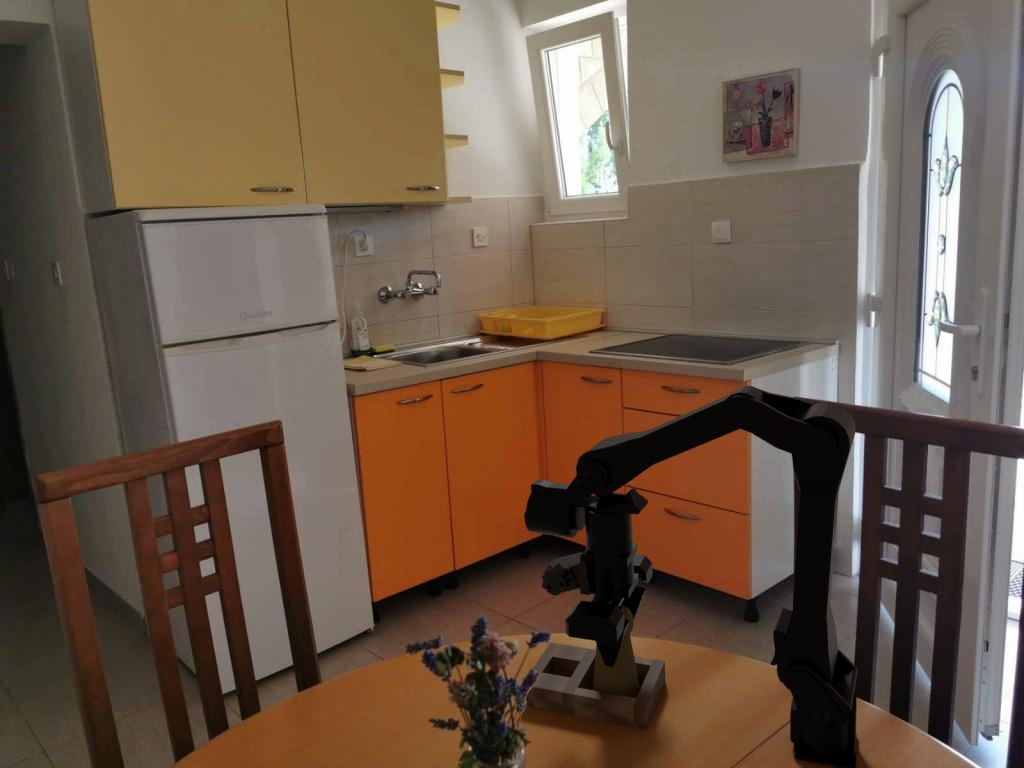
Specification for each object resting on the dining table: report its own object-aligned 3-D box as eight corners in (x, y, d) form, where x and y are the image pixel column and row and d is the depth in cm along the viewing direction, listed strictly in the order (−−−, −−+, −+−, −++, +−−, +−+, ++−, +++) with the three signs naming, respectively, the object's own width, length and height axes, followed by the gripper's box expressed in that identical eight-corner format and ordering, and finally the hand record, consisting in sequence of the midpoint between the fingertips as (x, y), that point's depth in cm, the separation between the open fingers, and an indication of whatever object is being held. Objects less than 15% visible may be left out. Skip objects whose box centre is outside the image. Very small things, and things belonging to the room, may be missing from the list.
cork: (625, 706, 97) (621, 625, 95) (583, 691, 101) (579, 613, 99) (648, 682, 102) (645, 604, 100) (607, 669, 106) (603, 593, 103)
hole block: (665, 681, 104) (664, 661, 104) (646, 730, 95) (645, 707, 94) (551, 661, 111) (550, 642, 110) (523, 705, 101) (521, 684, 101)
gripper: (571, 508, 109) (577, 612, 112) (520, 565, 92) (529, 685, 95) (651, 515, 104) (655, 623, 108) (612, 576, 88) (618, 702, 91)
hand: (614, 655), depth 100 cm, fingers closed on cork, 4 cm apart
